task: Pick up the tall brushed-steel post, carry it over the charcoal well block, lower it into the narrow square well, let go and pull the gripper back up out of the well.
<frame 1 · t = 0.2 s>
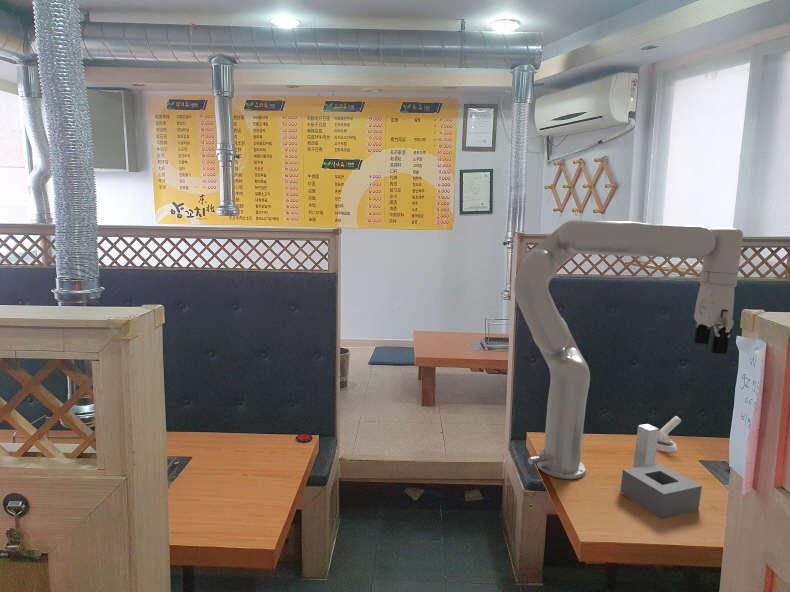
hand: (709, 348, 129), 36 cm above the table, tool pointing down, fingers open, 9 cm apart
steel post: (642, 473, 140), on the table
hook: (662, 447, 157), on the table
well block: (658, 500, 126), on the table
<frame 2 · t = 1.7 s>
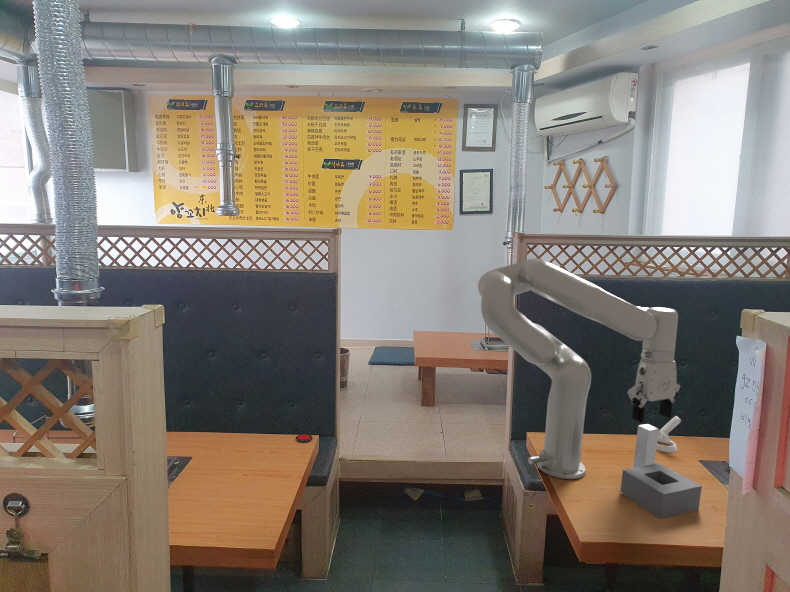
hand: (651, 418, 137), 15 cm above the table, tool pointing down, fingers open, 9 cm apart
nothing on the table moved.
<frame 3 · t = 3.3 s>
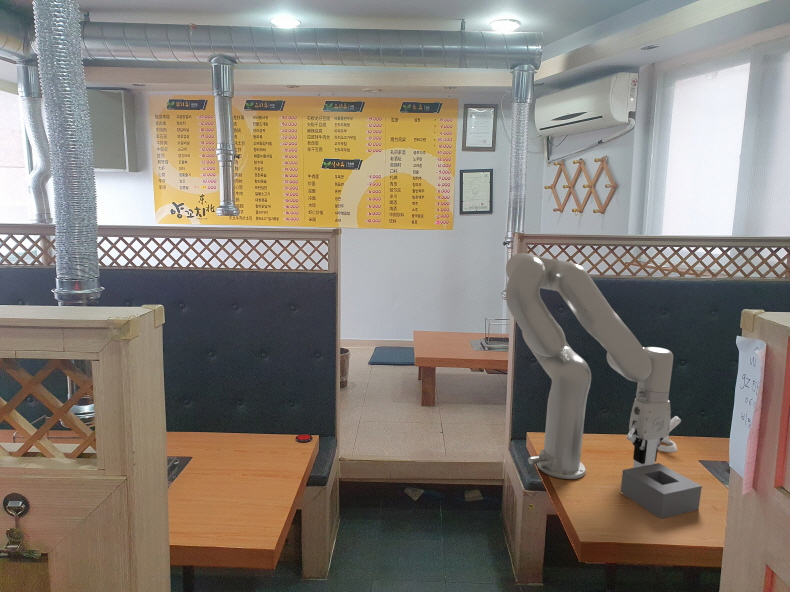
hand: (644, 459, 139), 4 cm above the table, tool pointing down, fingers closed on steel post, 3 cm apart
steel post: (642, 473, 140), on the table, touching gripper
everything else where it was.
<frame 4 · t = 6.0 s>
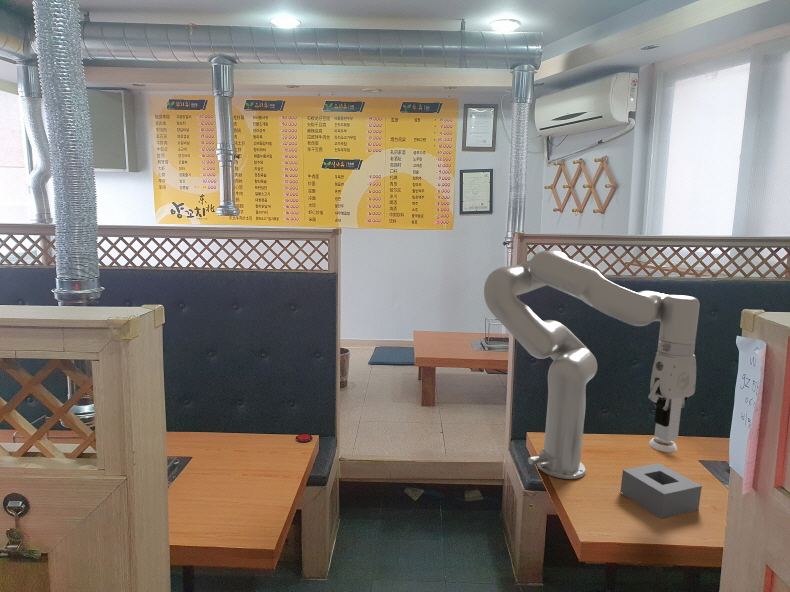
hand: (667, 422, 124), 19 cm above the table, tool pointing down, fingers closed on steel post, 3 cm apart
steel post: (665, 437, 125), point 16 cm above the table, touching gripper
everything else where it was.
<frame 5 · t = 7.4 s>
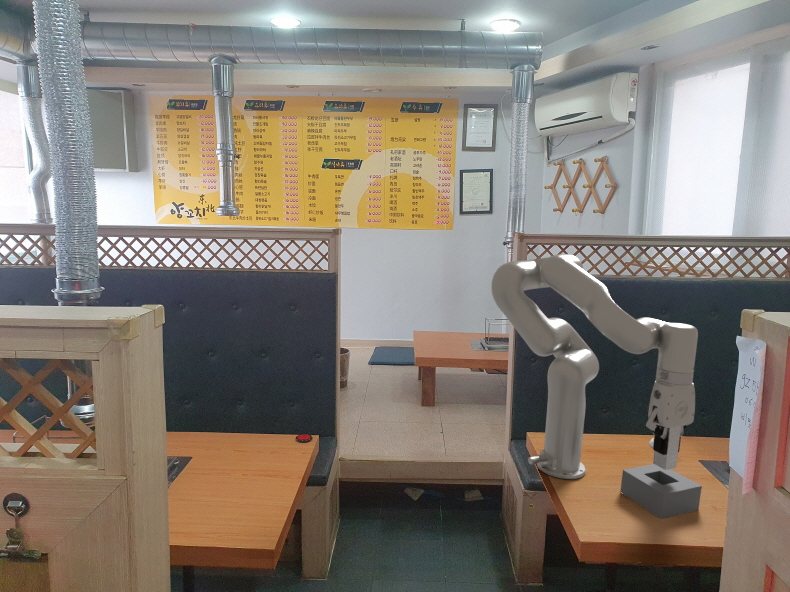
hand: (666, 450, 124), 13 cm above the table, tool pointing down, fingers closed on steel post, 3 cm apart
steel post: (664, 465, 124), point 9 cm above the table, touching gripper
everything else where it was.
when the fingers open (7 cm above the table, at t = 8.7 s): steel post drops 3 cm, resting in well block.
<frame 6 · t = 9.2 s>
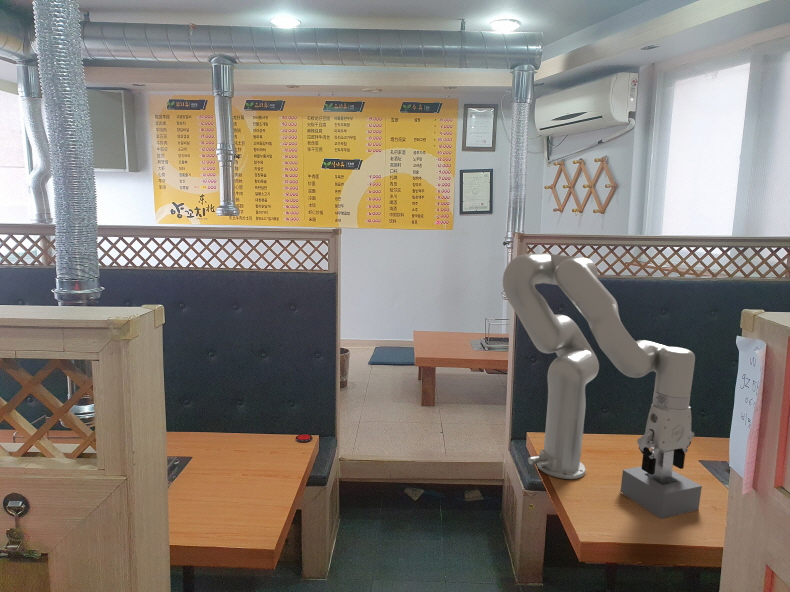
hand: (662, 469, 125), 8 cm above the table, tool pointing down, fingers open, 9 cm apart
steel post: (657, 500, 126), resting in well block
everything else where it was.
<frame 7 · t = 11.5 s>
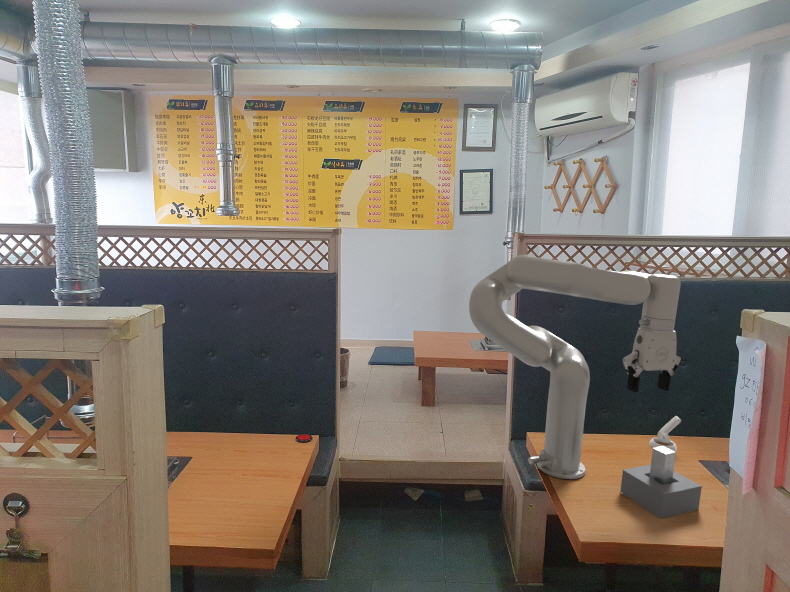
hand: (647, 389, 132), 24 cm above the table, tool pointing down, fingers open, 9 cm apart
nothing on the table moved.
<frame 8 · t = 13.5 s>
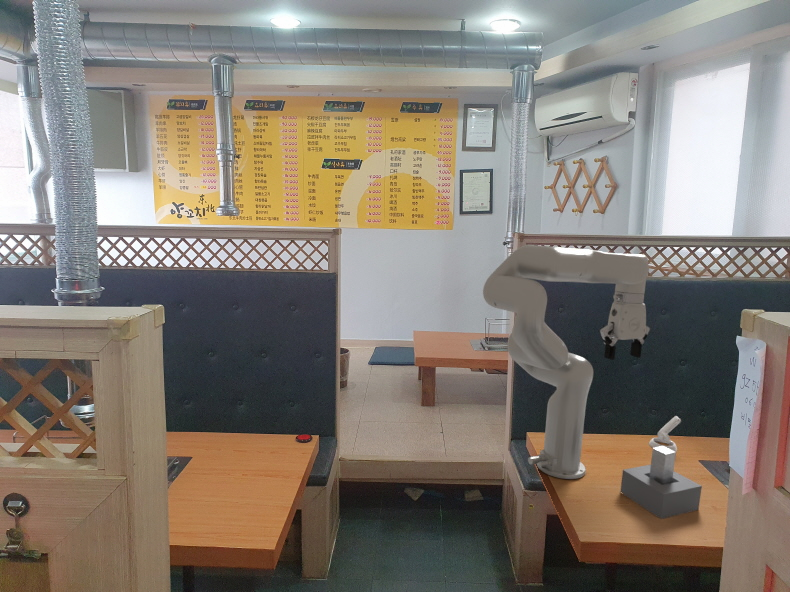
hand: (622, 357, 148), 28 cm above the table, tool pointing down, fingers open, 9 cm apart
nothing on the table moved.
at the end: steel post 0.1 cm off-centre on the well block, point 0.0 cm above the well block's base; steel post tilted 0°; the gripper is holding nothing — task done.
